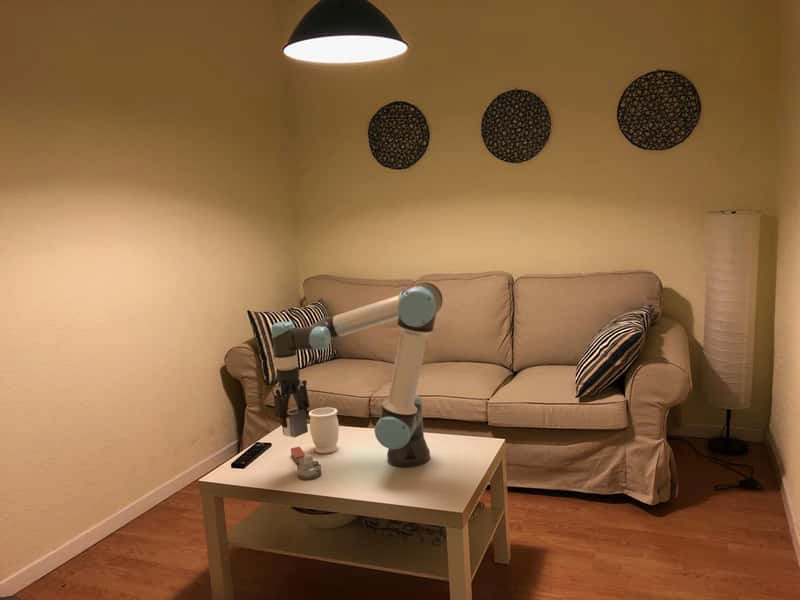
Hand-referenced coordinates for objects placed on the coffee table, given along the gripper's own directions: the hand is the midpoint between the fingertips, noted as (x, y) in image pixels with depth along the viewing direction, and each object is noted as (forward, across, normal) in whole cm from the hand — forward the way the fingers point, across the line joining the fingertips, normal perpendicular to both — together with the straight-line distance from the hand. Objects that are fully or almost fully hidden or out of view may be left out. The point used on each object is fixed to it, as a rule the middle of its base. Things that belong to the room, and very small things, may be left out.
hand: (295, 432), depth 237 cm
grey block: (0, 0, 0) cm, 0 cm away
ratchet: (+14, -4, -2) cm, 15 cm away
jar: (+14, -19, -7) cm, 25 cm away
